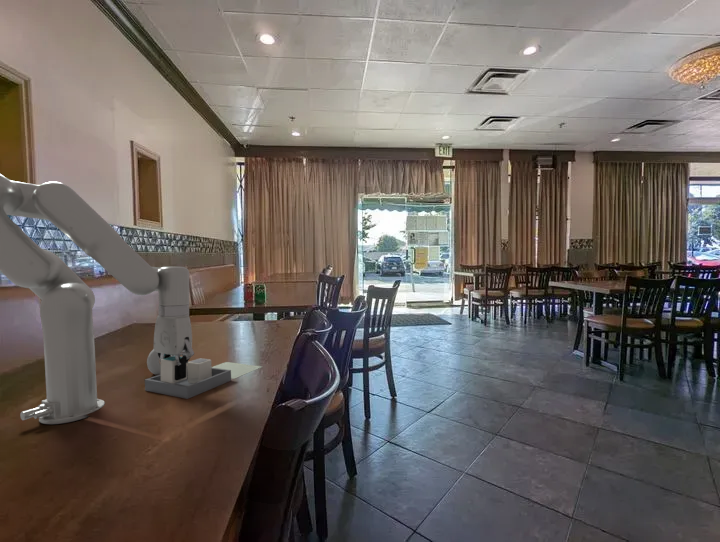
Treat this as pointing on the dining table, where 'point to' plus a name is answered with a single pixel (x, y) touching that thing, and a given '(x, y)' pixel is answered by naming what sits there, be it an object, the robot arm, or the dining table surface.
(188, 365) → the grey label box
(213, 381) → the parts bin
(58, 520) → the dining table surface
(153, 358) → the donut
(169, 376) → the teal label box
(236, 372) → the sage board
